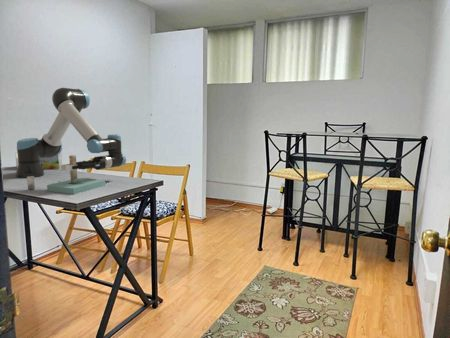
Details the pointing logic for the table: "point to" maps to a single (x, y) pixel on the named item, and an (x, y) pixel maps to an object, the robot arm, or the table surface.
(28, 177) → the short pin
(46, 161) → the snack box
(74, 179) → the tall pin
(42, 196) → the table surface
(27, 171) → the robot arm
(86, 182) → the hole plate
